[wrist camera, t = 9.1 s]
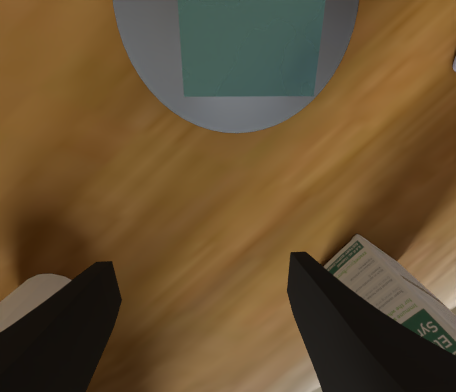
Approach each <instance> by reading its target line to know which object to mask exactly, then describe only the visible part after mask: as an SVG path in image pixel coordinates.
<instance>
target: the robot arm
mask: <svg viewBox="0 0 456 392" xmlns="http://www.w3.org/2000/svg"><path fill="white" fill-rule="evenodd" d="M453 70H454V71H455V72H456V57H455V60H454V63H453ZM287 293H288V297H289V301H290V305H291V308H292V312H293V315H294V318H295V321H296V323H297V326H298V328H299V331H300V333H301V336H302V339H303V341H304V344H305V346H306V349H307V351H308V354H309V356H310V359H311V361H312V364H313V366H314V369H315V371H316V374H317V377H318V380H319V382H320V385H321V388H322V391H323V392H456V355H454V354H452V353H450V352H448V351H446V350H445V349H443V348H441V347H439V346H437V345H436V344H434V343H432V342H430V341H429V340H427V339H425V338H423V337H421V336H420V335H418V334H416V333H415V332H413V331H411V330H410V329H408V328H406V327H405V326H403V325H402V324H400V323H398V322H397V321H395V320H394V319H392V318H391V317H389V316H388V315H386V314H384V313H383V312H381V311H380V310H378V309H377V308H376V307H374V306H373V305H371V304H370V303H369V302H367V301H366V300H364V299H363V298H362V297H360V296H359V295H358V294H356V293H355V292H354V291H352V290H351V289H350V288H348V287H347V286H346V285H345V284H343V283H342V282H341V281H340V280H338V279H337V278H336V277H335V276H334V275H332V274H331V273H330V272H329V271H328V270H326V269H325V268H324V267H323V266H322V265H321V264H319V263H318V262H317V261H316V260H315V259H314V258H312V257H311V256H310V255H309V254H308V253H306V252H291V254H290V265H289V275H288V286H287ZM121 301H122V299H121V295H120V291H119V287H118V283H117V279H116V275H115V271H114V268H113V264H112V261H107V262H96V263H94V264H93V265H91V266H90V267H89V268H87V269H86V270H85V271H83V272H82V273H81V274H79V275H78V276H77V277H76V278H74V279H73V280H72V281H70V282H69V283H68V284H67V285H65V286H64V287H63V288H61V289H60V290H59V291H57V292H56V293H55V294H53V295H52V296H51V297H50V298H48V299H47V300H46V301H44V302H43V303H41V304H40V305H39V306H37V307H36V308H34V309H33V310H32V311H30V312H29V313H27V314H26V315H25V316H23V317H22V318H20V319H19V320H18V321H16V322H15V323H13V324H12V325H11V326H9V327H8V328H6V329H5V330H3V331H2V332H0V392H86V390H87V387H88V385H89V383H90V380H91V378H92V376H93V374H94V371H95V369H96V367H97V364H98V362H99V360H100V358H101V355H102V353H103V351H104V349H105V346H106V344H107V342H108V339H109V337H110V335H111V332H112V330H113V327H114V325H115V322H116V318H117V315H118V312H119V308H120V305H121Z"/></svg>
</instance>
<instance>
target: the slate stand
mask: <svg viewBox="0 0 456 392" xmlns="http://www.w3.org/2000/svg"><path fill="white" fill-rule="evenodd" d="M358 3H359V0H326V1H325V9H324V17H323V25H322V33H321V41H320V49H319V57H318V65H317V73H316V82H315V90H314V96H253V97H184V90H183V75H182V60H181V44H180V29H179V14H178V0H113V6H114V11H115V16H116V21H117V26H118V29H119V32H120V35H121V39H122V42H123V45H124V47H125V49H126V52H127V54H128V56H129V58H130V61H131V62H132V64H133V66H134V68H135V69H136V71H137V73H138V74H139V76H140V78H141V79H142V80H143V82H144V83H145V84H146V86H147V87H148V88H149V90H150V91H151V92H152V93H153V94H154V95H155V96H156V97H157V98H158V99H159V100H160V101H161V102H162V103H163V104H164V105H165V106H166V107H168V108H169V109H170V110H171V111H172V112H174V113H176V114H177V115H179V116H180V117H182V118H183V119H185V120H187V121H189V122H191V123H193V124H195V125H197V126H200V127H203V128H206V129H209V130H214V131H219V132H226V133H245V132H253V131H258V130H262V129H266V128H269V127H271V126H274V125H277V124H279V123H281V122H283V121H285V120H287V119H289V118H290V117H292V116H293V115H295V114H296V113H298V112H299V111H301V110H302V109H303V108H304V107H305V106H307V105H308V104H309V103H310V102H311V101H312V100H313V99H314V98H315V97H316V96H317V95H318V94H319V93H320V92H321V91H322V89H323V88H324V87H325V85H326V84H327V83H328V81H329V80H330V79H331V77H332V76H333V74H334V72H335V71H336V69H337V67H338V66H339V64H340V62H341V60H342V58H343V56H344V53H345V51H346V49H347V47H348V44H349V41H350V38H351V35H352V32H353V29H354V24H355V20H356V15H357V11H358Z"/></svg>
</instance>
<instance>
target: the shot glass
mask: <svg viewBox="0 0 456 392" xmlns="http://www.w3.org/2000/svg"><path fill="white" fill-rule="evenodd" d="M70 281H72V280H70V279H69V278H67V277H65V276H60V275H56V274H38V275H36V276H34V277H31V278H29V279H27V280H26V281H25V282H24V283H23V284H21V285H20V286H19V287H18V288H17V289H15V290H14V291H13V292H12V293H11V294H9V295H8V296H7V297H6V298H5V299H3V300H2V301H1V302H0V332H2V331H3V330H5V329H6V328H8V327H9V326H11V325H12V324H13V323H15V322H16V321H18V320H19V319H20V318H22V317H23V316H25V315H26V314H27V313H29V312H30V311H32V310H33V309H34V308H36V307H37V306H39V305H40V304H41V303H43V302H44V301H46V300H47V299H48V298H50V297H51V296H52V295H53V294H55V293H56V292H57V291H59V290H60V289H61V288H63V287H64V286H65V285H67V284H68V283H69V282H70Z"/></svg>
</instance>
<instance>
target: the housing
mask: <svg viewBox="0 0 456 392" xmlns="http://www.w3.org/2000/svg"><path fill="white" fill-rule="evenodd" d="M325 1H326V0H178V14H179V29H180V44H181V60H182V75H183V90H184V97H253V96H314V90H315V82H316V73H317V65H318V57H319V49H320V41H321V33H322V25H323V17H324V9H325Z"/></svg>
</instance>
